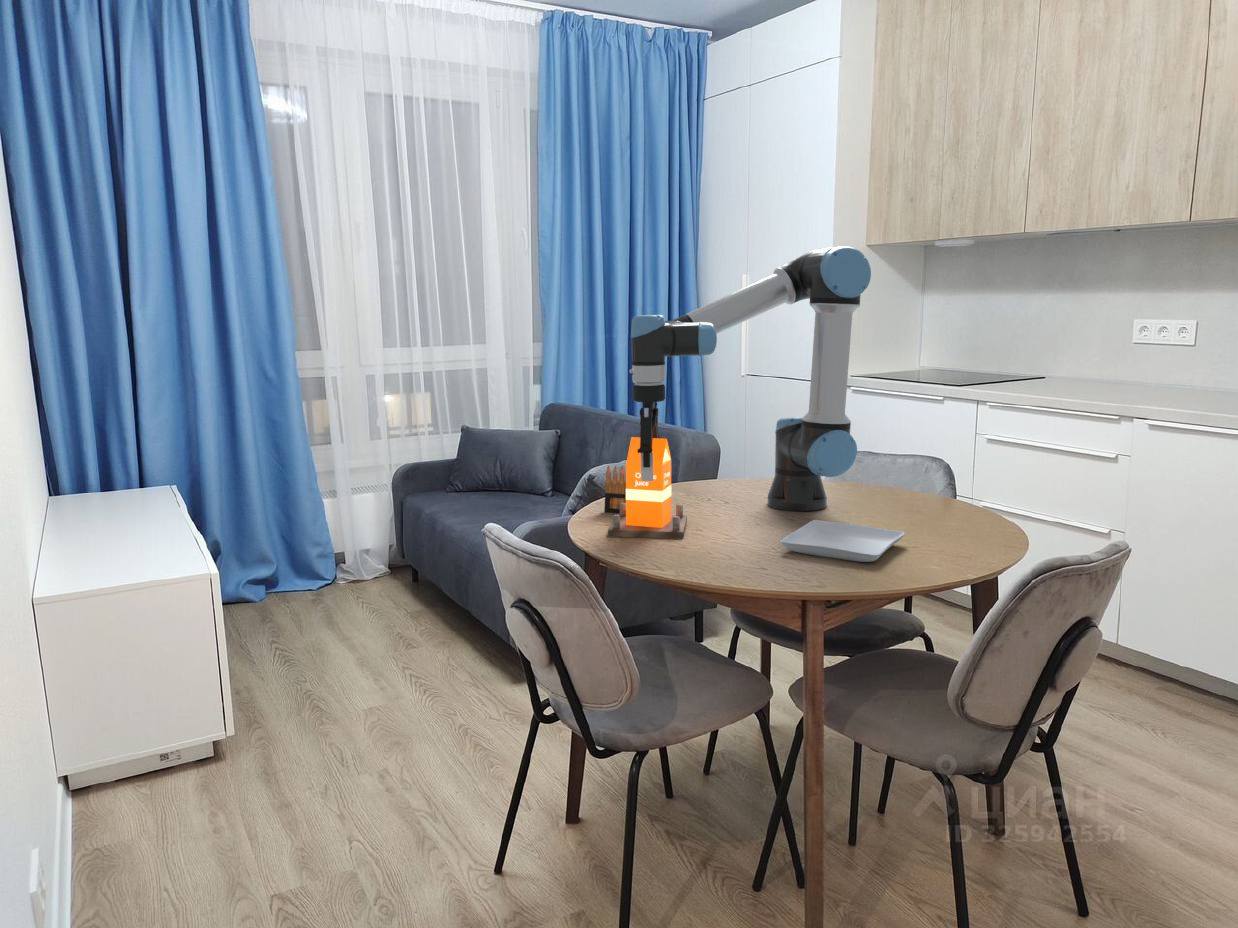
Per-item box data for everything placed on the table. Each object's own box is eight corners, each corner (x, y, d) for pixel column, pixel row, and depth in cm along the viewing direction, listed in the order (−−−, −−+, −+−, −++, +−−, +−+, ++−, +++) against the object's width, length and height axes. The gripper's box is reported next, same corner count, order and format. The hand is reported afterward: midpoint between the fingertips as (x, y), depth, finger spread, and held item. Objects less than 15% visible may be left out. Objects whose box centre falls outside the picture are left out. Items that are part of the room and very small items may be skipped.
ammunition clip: (646, 513, 228) (646, 466, 226) (644, 515, 226) (644, 468, 224) (606, 511, 231) (606, 464, 229) (604, 512, 230) (603, 465, 227)
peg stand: (686, 521, 219) (687, 503, 218) (683, 538, 204) (683, 518, 203) (617, 519, 221) (616, 501, 221) (608, 536, 206) (607, 517, 205)
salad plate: (877, 570, 180) (878, 553, 180) (777, 555, 191) (777, 539, 191) (906, 545, 198) (907, 530, 197) (812, 533, 209) (813, 518, 208)
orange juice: (662, 527, 207) (662, 441, 204) (625, 525, 210) (625, 439, 207) (671, 520, 214) (671, 436, 211) (636, 517, 217) (635, 434, 214)
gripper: (638, 378, 219) (639, 465, 223) (625, 389, 195) (627, 486, 199) (669, 378, 218) (670, 465, 222) (660, 389, 194) (662, 486, 198)
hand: (650, 475), depth 210 cm, fingers open, 13 cm apart
